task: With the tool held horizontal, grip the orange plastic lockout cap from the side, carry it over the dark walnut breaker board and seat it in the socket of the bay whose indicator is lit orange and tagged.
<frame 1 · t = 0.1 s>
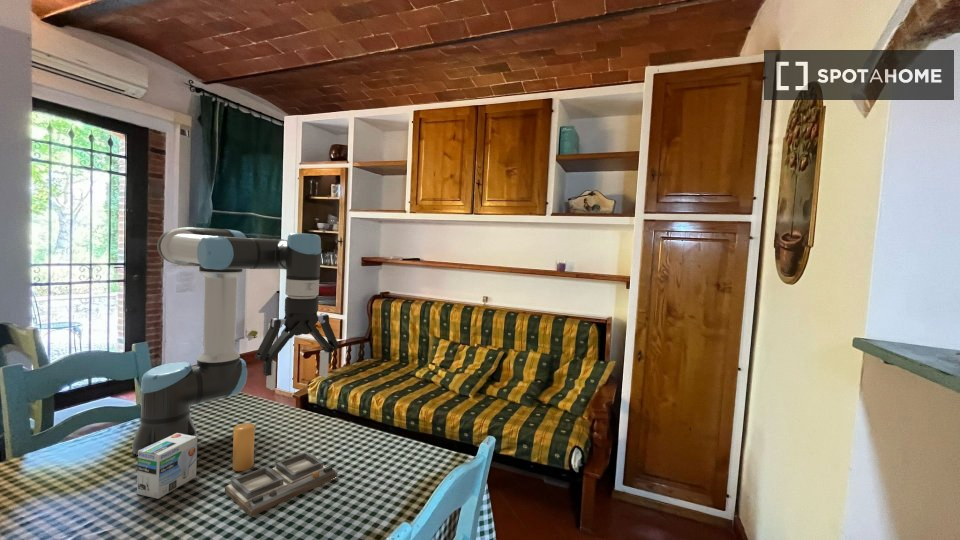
hand: (298, 382, 102), 28 cm above the table, tool pointing down, fingers open, 13 cm apart
breaker board: (283, 484, 106), on the table
light bulb box: (167, 485, 103), on the table
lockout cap: (243, 466, 113), on the table
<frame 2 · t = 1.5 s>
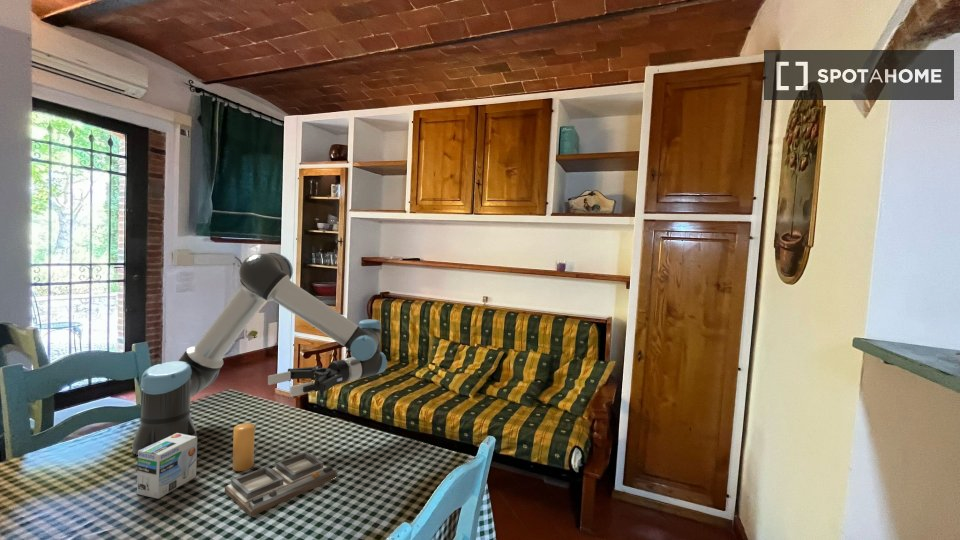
hand: (279, 385, 119), 20 cm above the table, tool horizontal, fingers open, 13 cm apart
nothing on the table moved.
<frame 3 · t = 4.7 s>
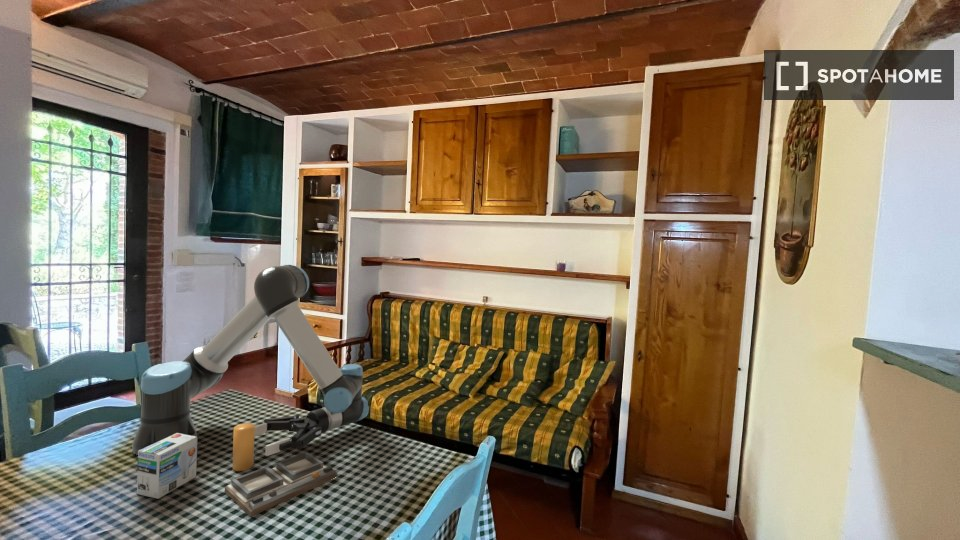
hand: (254, 442, 115), 6 cm above the table, tool horizontal, fingers open, 13 cm apart
nothing on the table moved.
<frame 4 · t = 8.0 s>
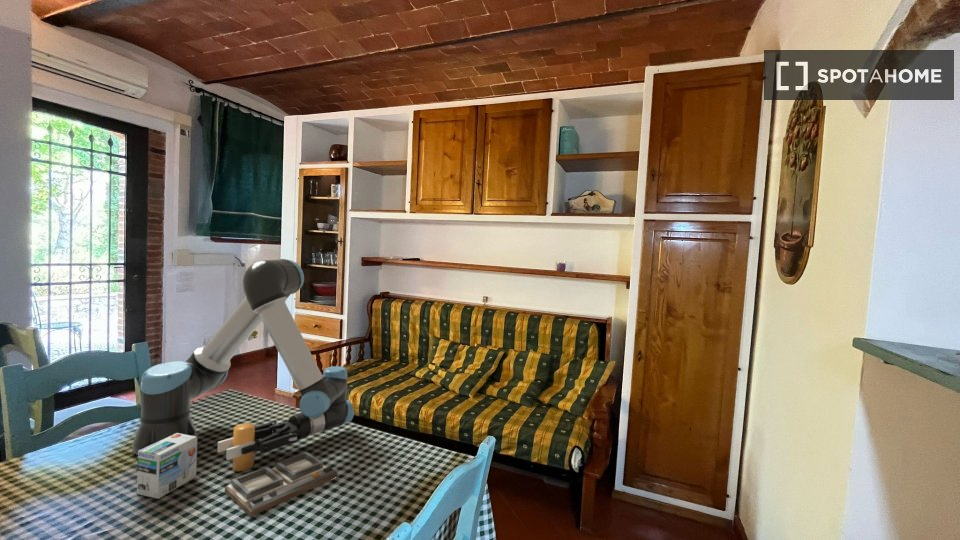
hand: (222, 450, 109), 6 cm above the table, tool horizontal, fingers closed on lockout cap, 5 cm apart
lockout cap: (243, 466, 113), on the table, touching gripper
everything else where it was.
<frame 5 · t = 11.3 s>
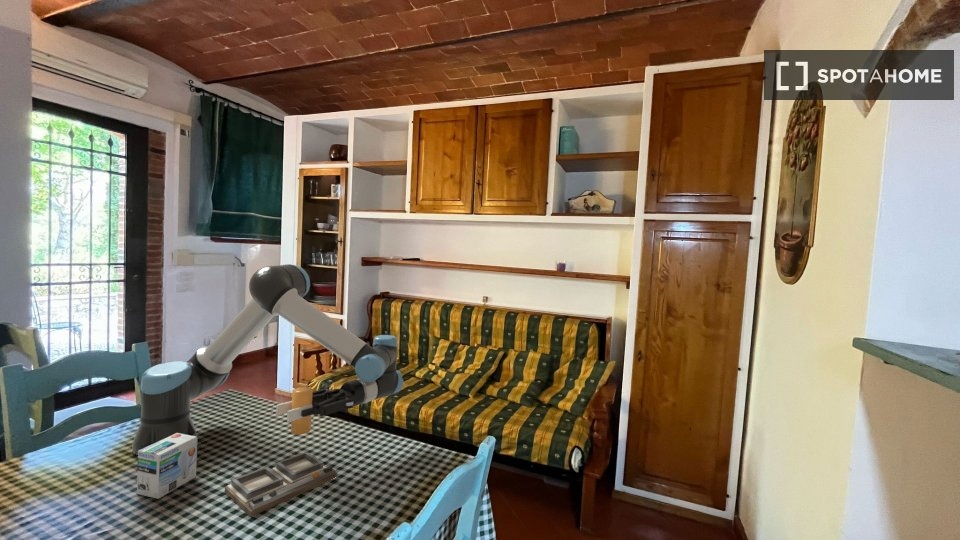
hand: (282, 413, 107), 18 cm above the table, tool horizontal, fingers closed on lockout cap, 5 cm apart
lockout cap: (301, 430, 111), point 12 cm above the table, touching gripper
everything else where it was.
when the fingers open (8 cm above the table, at t = 15.0 s): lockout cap stays where it is, resting on breaker board.
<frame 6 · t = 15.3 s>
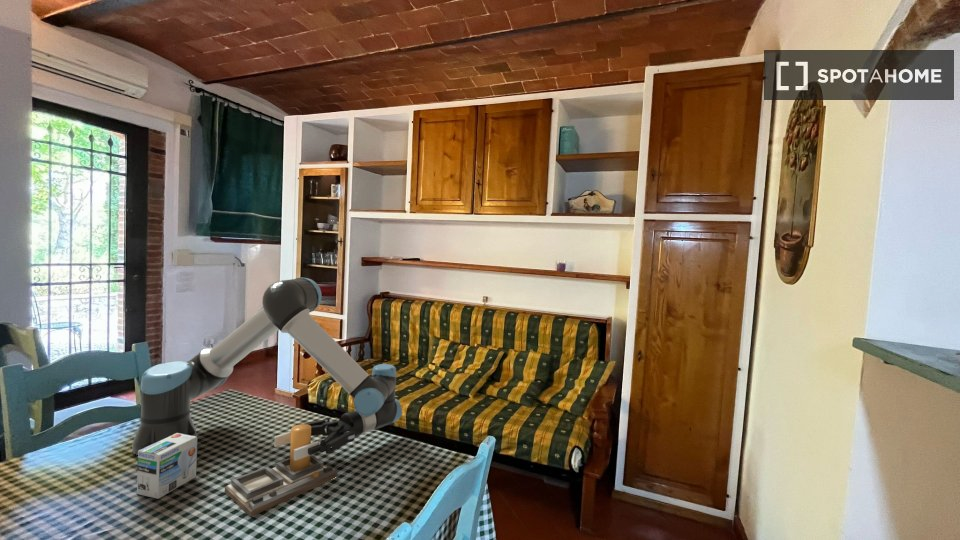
hand: (284, 448, 108), 8 cm above the table, tool horizontal, fingers open, 9 cm apart
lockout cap: (299, 467, 112), point 1 cm above the table, touching breaker board
everything else where it was.
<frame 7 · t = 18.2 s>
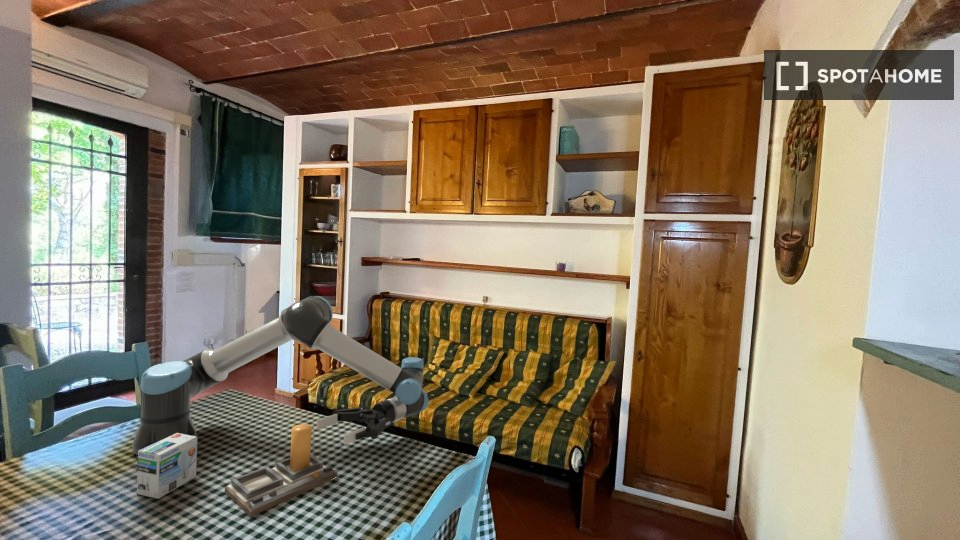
hand: (330, 432, 118), 9 cm above the table, tool horizontal, fingers open, 13 cm apart
nothing on the table moved.
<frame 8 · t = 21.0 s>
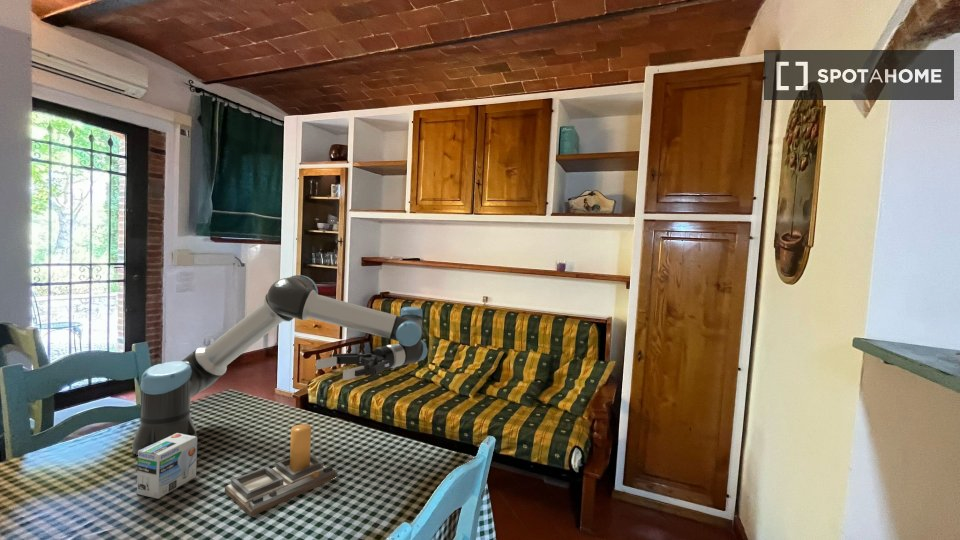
hand: (329, 369, 119), 26 cm above the table, tool horizontal, fingers open, 13 cm apart
nothing on the table moved.
at the end: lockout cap 0.0 cm from the target spot, point 1.4 cm above the table; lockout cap tilted 1°; the gripper is holding nothing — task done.
